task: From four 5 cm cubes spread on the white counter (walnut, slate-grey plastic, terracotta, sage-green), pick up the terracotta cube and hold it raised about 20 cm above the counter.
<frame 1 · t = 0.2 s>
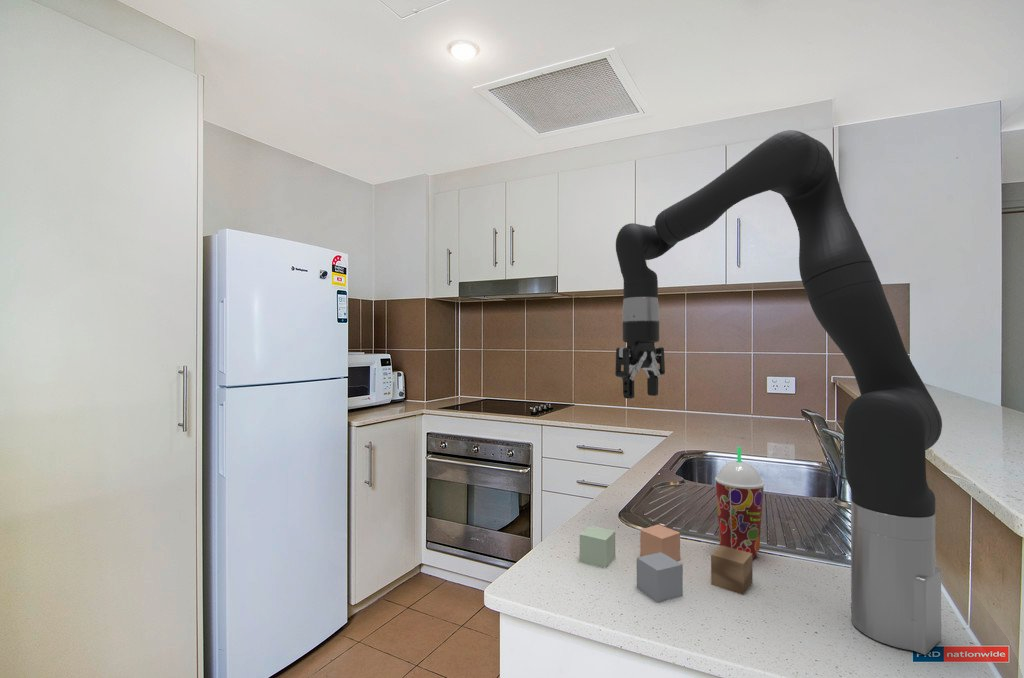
hand: (641, 396, 104), 28 cm above the worktop, fingers open, 8 cm apart
grey block: (659, 592, 79), on the worktop
smoothie: (739, 554, 93), on the worktop
walnut block: (731, 584, 81), on the worktop
terracotta block: (660, 558, 91), on the worktop
sage block: (597, 559, 90), on the worktop
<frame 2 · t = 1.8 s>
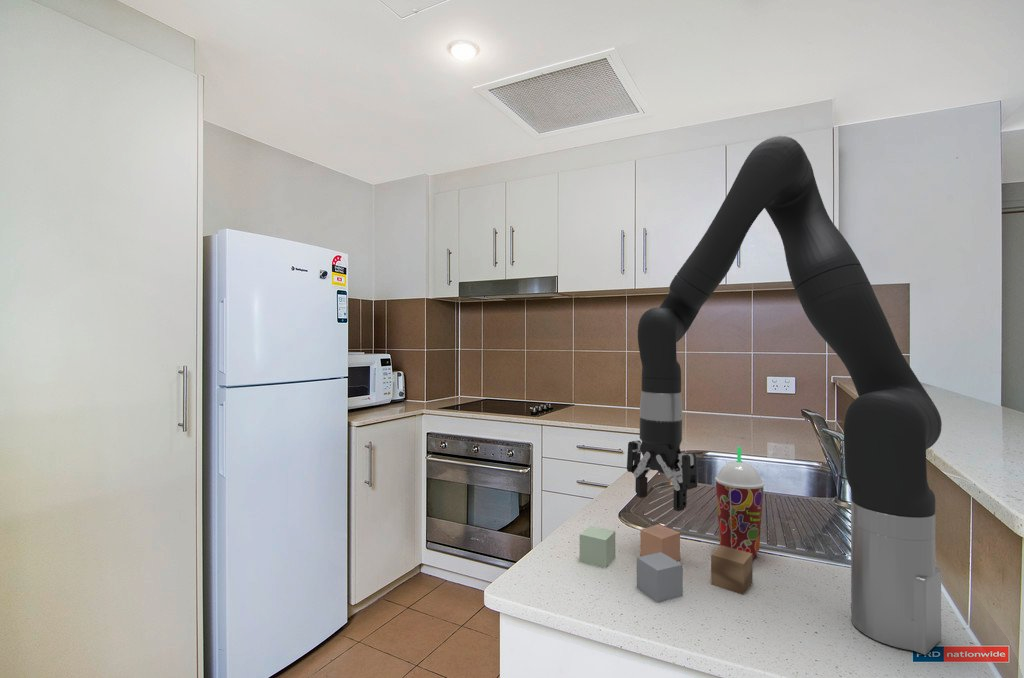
hand: (659, 503, 91), 10 cm above the worktop, fingers open, 8 cm apart
nothing on the worktop moved.
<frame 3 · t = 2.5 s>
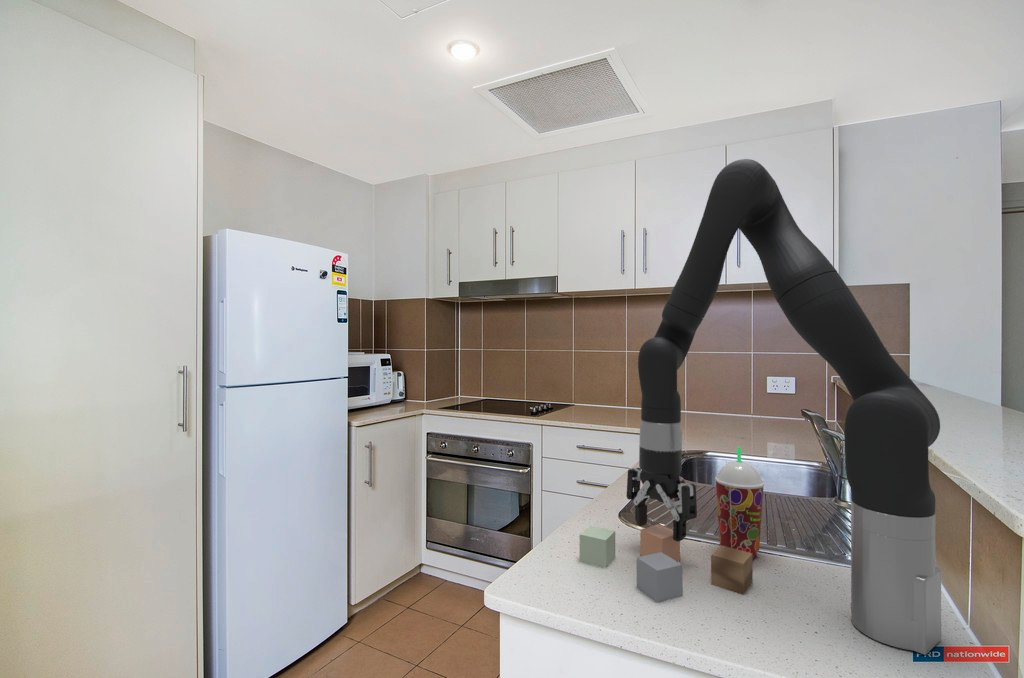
hand: (659, 532, 91), 5 cm above the worktop, fingers open, 8 cm apart
nothing on the worktop moved.
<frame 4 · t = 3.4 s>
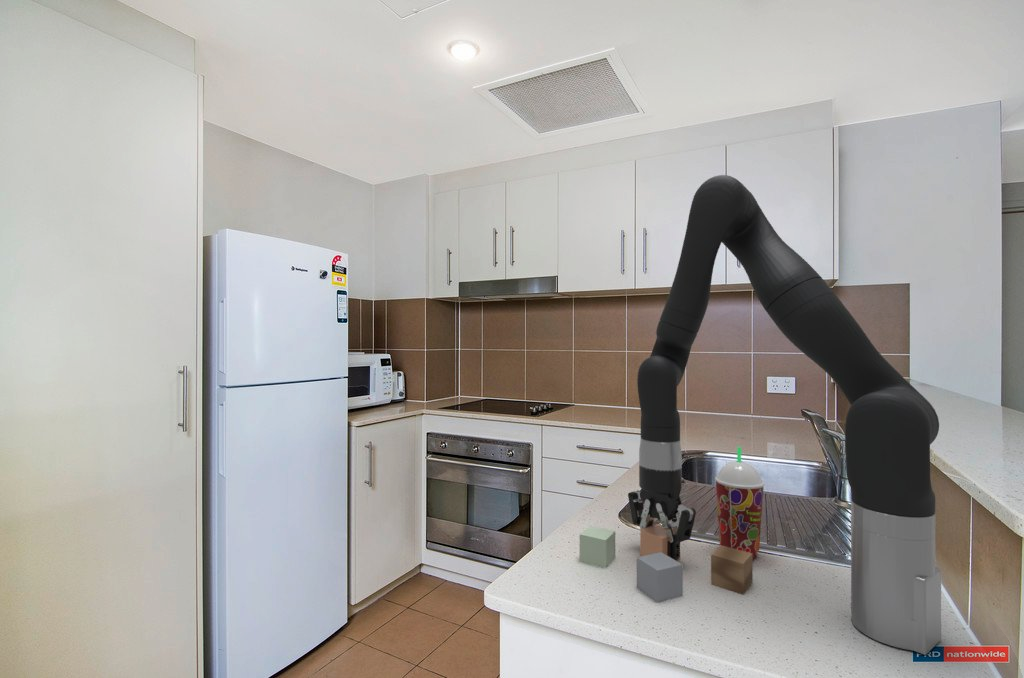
hand: (660, 555, 91), 0 cm above the worktop, fingers closed on terracotta block, 5 cm apart
terracotta block: (660, 557, 91), on the worktop, touching gripper
everything else where it was.
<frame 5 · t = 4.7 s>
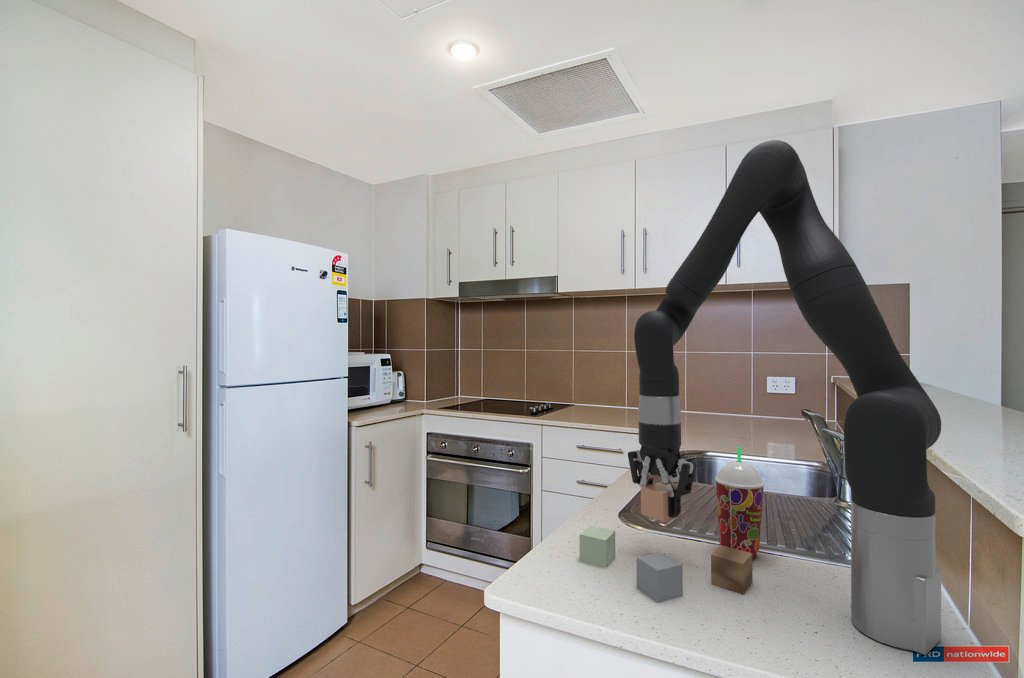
hand: (660, 512, 91), 9 cm above the worktop, fingers closed on terracotta block, 5 cm apart
terracotta block: (660, 515, 91), point 8 cm above the worktop, touching gripper
everything else where it was.
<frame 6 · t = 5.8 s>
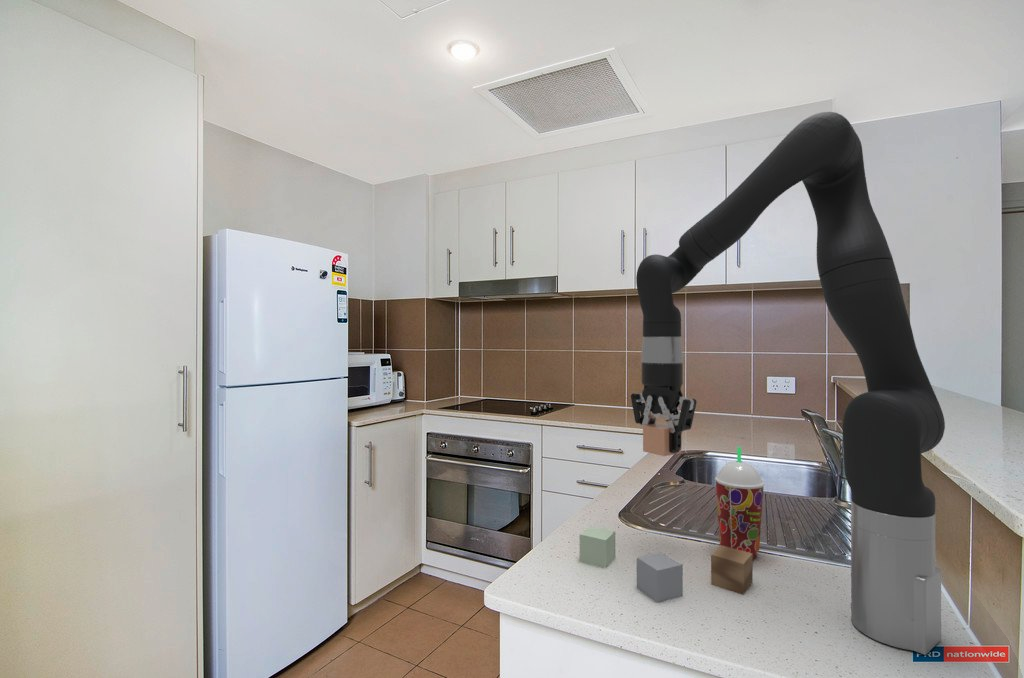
hand: (662, 449, 94), 19 cm above the worktop, fingers closed on terracotta block, 5 cm apart
terracotta block: (662, 452, 94), point 19 cm above the worktop, touching gripper
everything else where it was.
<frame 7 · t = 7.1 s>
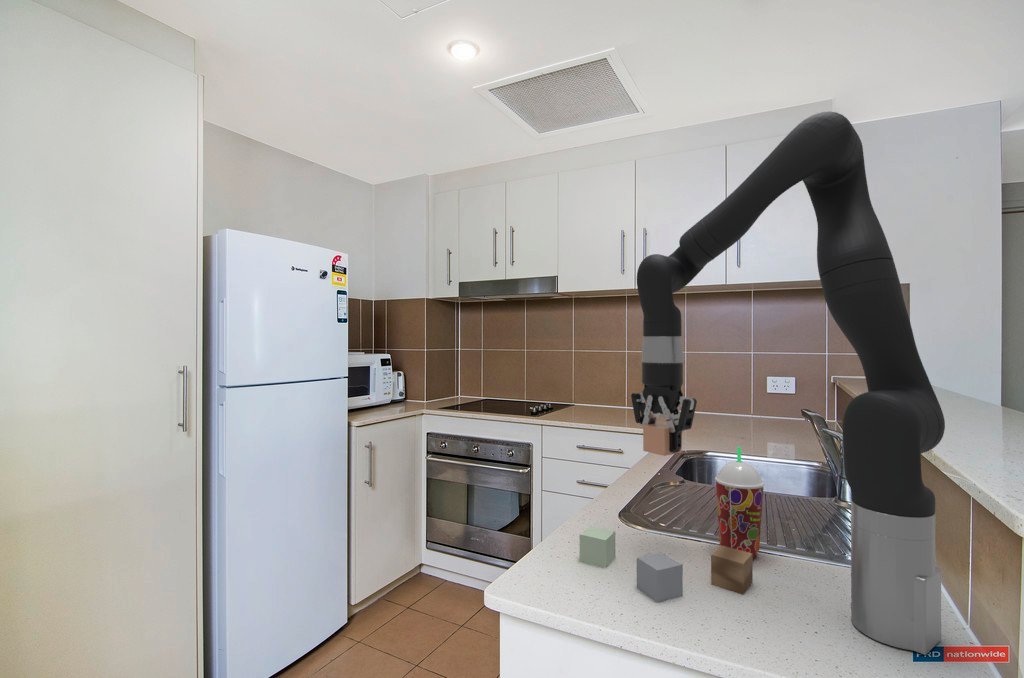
hand: (662, 448, 94), 19 cm above the worktop, fingers closed on terracotta block, 5 cm apart
terracotta block: (662, 451, 94), point 19 cm above the worktop, touching gripper
everything else where it was.
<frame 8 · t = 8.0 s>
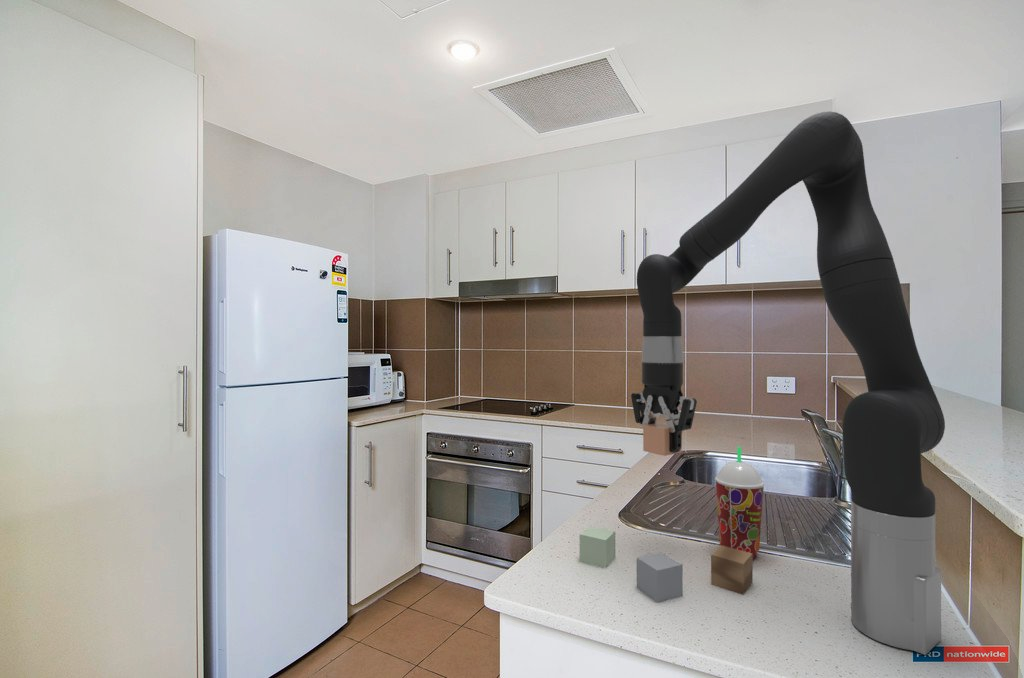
hand: (662, 448, 94), 19 cm above the worktop, fingers closed on terracotta block, 5 cm apart
terracotta block: (662, 451, 94), point 19 cm above the worktop, touching gripper
everything else where it was.
at the end: the gripper is holding terracotta block; terracotta block point 18.8 cm above the worktop; grey block moved 0.1 cm from its start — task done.
